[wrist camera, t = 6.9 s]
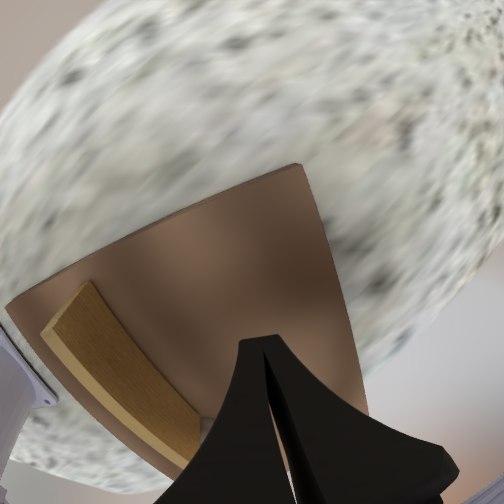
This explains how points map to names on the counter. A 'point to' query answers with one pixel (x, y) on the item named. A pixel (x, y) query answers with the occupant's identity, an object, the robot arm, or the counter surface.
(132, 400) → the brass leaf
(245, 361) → the robot arm
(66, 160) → the counter surface
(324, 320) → the hinge base
